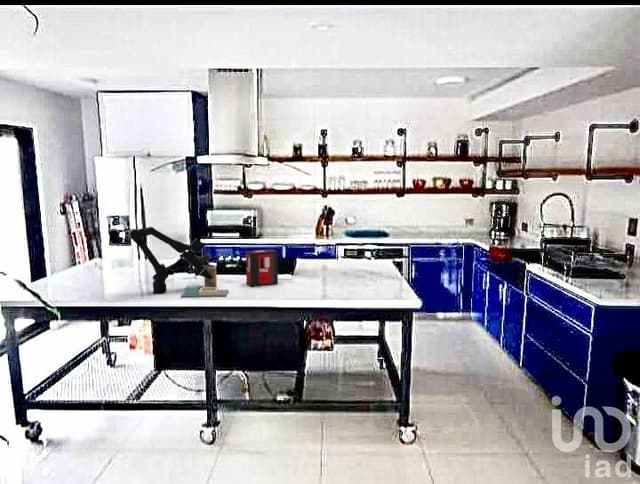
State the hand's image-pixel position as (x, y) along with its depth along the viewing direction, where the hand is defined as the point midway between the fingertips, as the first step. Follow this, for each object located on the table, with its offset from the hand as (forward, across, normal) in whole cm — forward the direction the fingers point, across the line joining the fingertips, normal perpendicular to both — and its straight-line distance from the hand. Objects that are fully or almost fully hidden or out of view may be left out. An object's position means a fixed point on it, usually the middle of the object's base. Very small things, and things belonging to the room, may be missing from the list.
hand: (212, 277), depth 294 cm
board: (+3, -13, +7) cm, 14 cm away
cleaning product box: (+24, +10, -15) cm, 30 cm away
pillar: (+4, 0, +6) cm, 7 cm away
